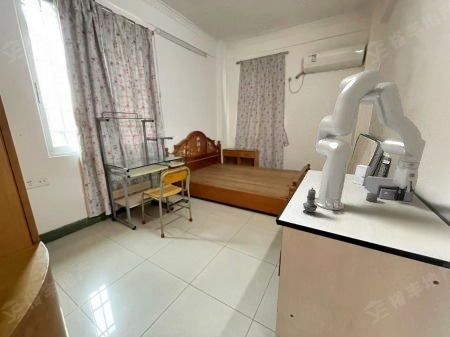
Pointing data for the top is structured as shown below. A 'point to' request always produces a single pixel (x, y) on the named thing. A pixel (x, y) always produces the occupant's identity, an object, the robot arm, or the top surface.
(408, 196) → the grey drawer
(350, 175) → the top surface
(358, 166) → the skincare box
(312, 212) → the grey stone pagoda
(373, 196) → the puck
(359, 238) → the top surface
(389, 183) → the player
